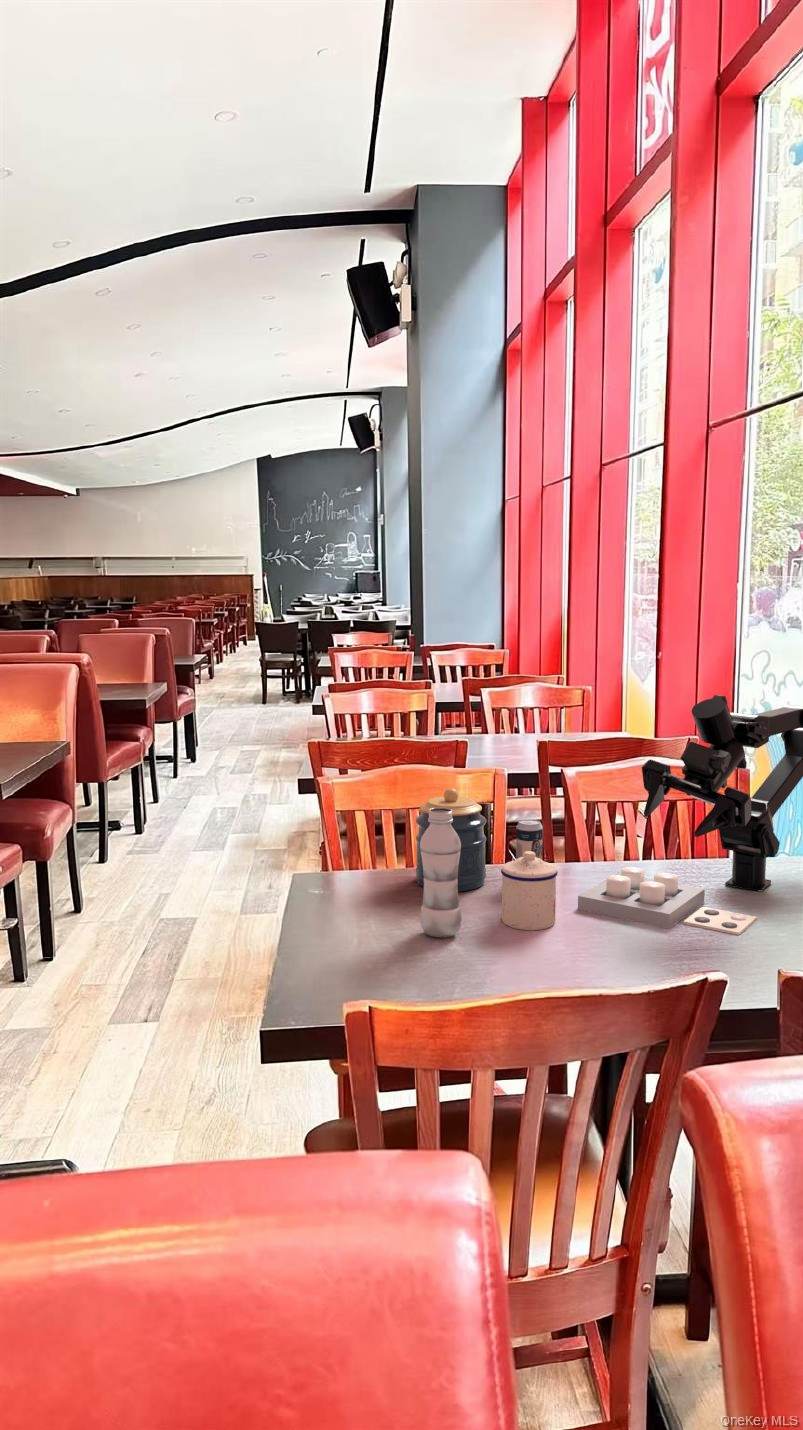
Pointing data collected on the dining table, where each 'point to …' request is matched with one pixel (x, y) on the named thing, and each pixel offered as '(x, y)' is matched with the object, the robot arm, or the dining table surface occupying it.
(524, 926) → the teacup with lid
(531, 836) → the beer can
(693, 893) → the board
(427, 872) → the plastic bottle
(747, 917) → the card
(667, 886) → the button
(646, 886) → the button
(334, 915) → the dining table surface
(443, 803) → the canister
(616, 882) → the button
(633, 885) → the button
